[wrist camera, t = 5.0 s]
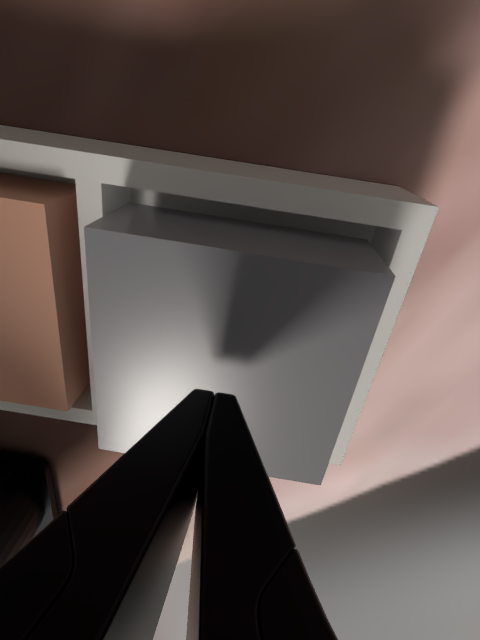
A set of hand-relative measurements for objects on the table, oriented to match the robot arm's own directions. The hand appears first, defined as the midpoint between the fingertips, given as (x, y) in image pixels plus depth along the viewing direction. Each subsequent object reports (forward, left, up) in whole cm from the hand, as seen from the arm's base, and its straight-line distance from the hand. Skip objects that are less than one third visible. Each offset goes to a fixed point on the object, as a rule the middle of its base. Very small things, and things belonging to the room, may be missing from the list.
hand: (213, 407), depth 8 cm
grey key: (0, 0, -3) cm, 3 cm away
